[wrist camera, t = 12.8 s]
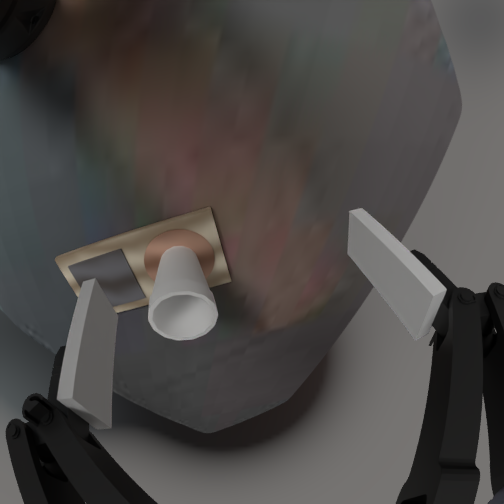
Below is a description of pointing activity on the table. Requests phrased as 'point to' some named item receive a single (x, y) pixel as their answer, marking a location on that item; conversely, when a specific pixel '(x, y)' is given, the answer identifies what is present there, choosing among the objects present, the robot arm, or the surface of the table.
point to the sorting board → (145, 258)
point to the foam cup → (181, 297)
